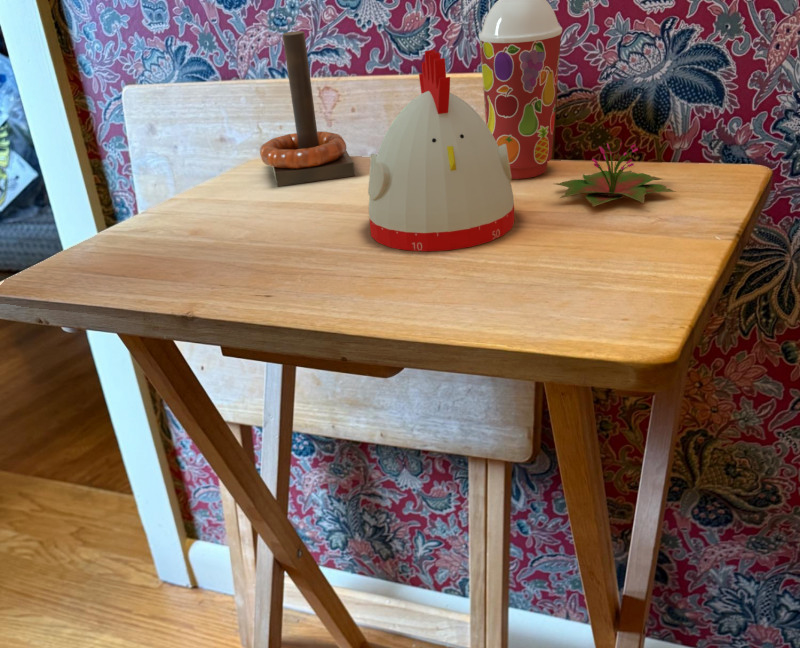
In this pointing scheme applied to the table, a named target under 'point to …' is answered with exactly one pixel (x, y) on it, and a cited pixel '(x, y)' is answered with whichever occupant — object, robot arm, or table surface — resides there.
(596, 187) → the lily flower
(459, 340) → the table surface
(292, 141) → the ring
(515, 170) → the smoothie
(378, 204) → the kitchen timer
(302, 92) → the peg stand
